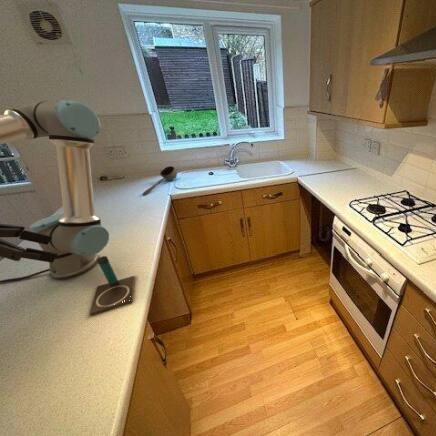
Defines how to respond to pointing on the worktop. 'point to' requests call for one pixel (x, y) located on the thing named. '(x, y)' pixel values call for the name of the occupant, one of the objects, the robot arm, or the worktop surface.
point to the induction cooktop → (113, 295)
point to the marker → (108, 271)
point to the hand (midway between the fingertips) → (52, 248)
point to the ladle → (164, 177)
